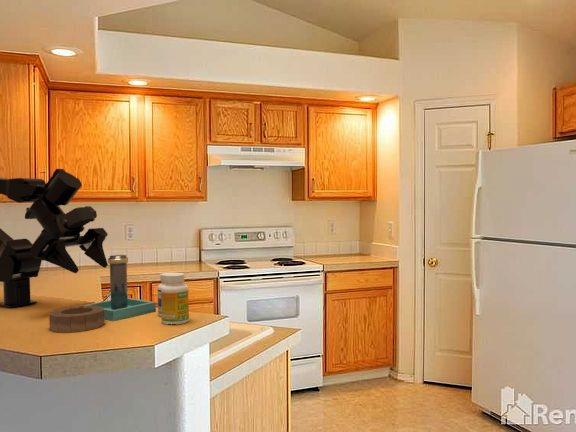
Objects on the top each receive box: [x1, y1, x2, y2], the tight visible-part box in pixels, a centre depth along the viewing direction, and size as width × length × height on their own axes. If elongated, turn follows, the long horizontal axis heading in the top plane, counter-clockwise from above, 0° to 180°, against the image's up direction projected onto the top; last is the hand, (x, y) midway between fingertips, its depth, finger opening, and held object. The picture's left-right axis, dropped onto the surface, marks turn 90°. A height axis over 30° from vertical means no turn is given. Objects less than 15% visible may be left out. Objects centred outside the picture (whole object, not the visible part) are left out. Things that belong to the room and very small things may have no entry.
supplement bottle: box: [161, 272, 190, 325], centre depth 106 cm, size 5×5×10 cm
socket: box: [48, 305, 106, 333], centre depth 104 cm, size 10×10×3 cm
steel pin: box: [107, 254, 129, 310], centre depth 115 cm, size 4×4×12 cm
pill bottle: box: [157, 271, 175, 317], centre depth 113 cm, size 5×5×9 cm
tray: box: [81, 297, 157, 322], centre depth 115 cm, size 11×11×2 cm
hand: (92, 269), depth 118 cm, fingers open, 9 cm apart
